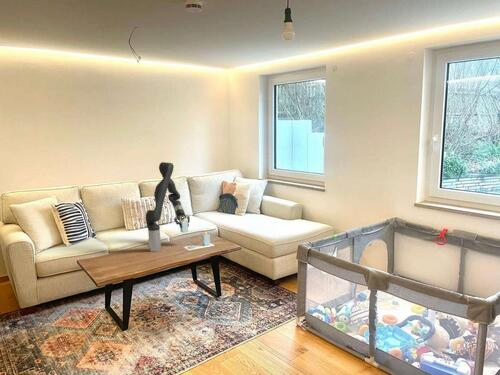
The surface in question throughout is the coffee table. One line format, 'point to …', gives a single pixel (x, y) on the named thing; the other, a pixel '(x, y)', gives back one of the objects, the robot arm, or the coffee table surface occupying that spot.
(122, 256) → the coffee table surface
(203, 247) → the card
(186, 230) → the post
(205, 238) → the post
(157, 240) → the robot arm
